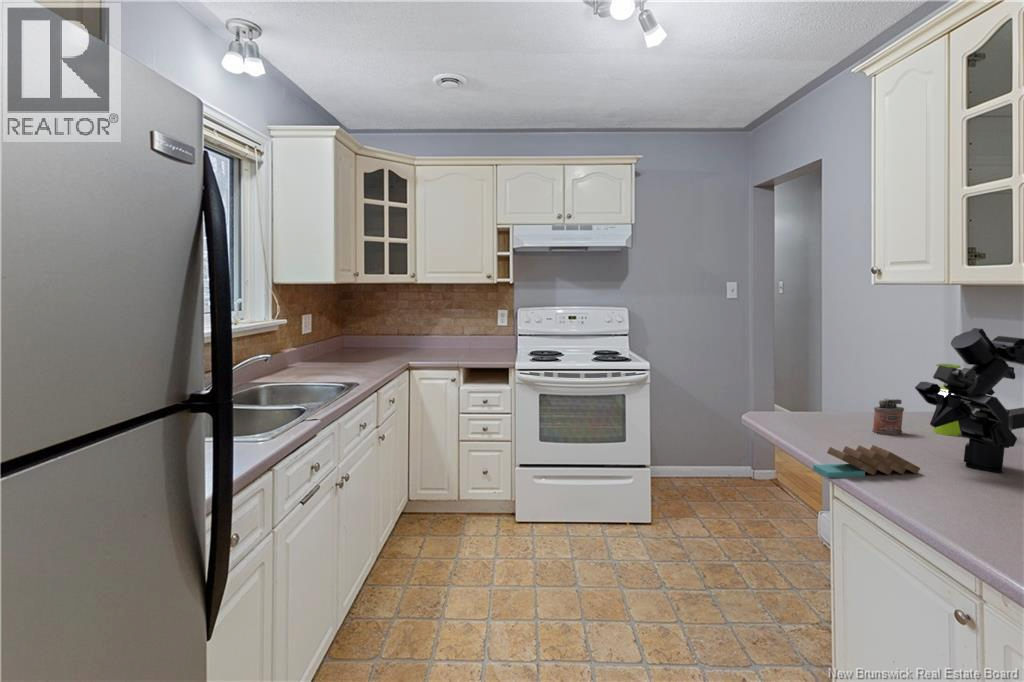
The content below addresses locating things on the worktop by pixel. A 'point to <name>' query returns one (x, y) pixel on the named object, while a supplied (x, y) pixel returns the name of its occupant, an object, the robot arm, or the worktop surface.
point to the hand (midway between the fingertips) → (932, 425)
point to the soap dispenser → (952, 427)
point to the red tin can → (888, 417)
